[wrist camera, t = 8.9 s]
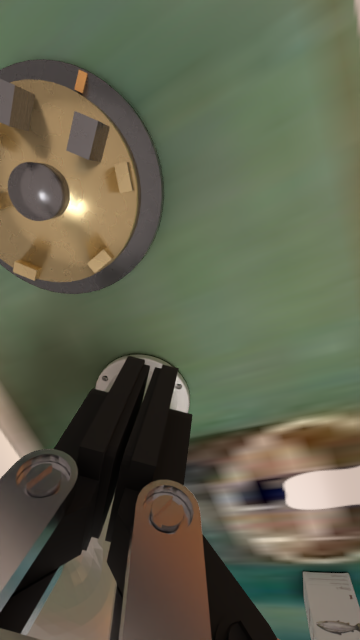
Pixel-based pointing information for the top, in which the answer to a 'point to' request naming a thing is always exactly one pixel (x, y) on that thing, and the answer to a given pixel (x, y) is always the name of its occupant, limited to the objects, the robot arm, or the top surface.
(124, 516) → the robot arm
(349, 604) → the supplement box
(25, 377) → the top surface
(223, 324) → the top surface
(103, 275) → the housing
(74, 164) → the round gold dish
